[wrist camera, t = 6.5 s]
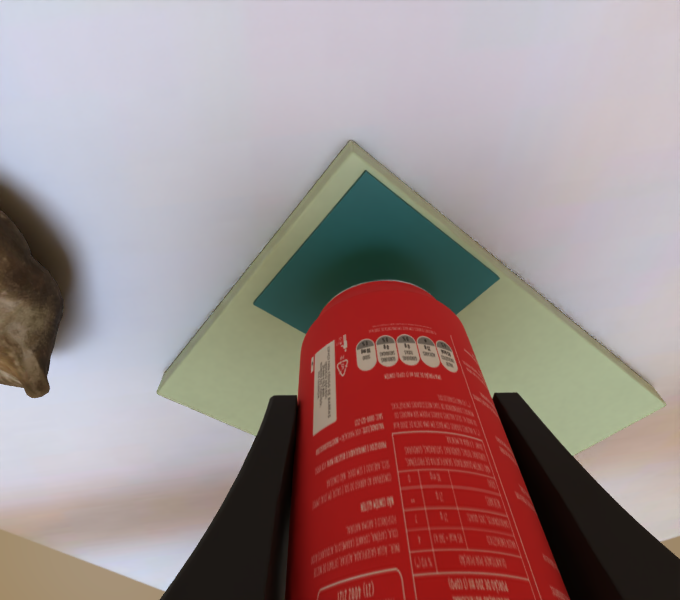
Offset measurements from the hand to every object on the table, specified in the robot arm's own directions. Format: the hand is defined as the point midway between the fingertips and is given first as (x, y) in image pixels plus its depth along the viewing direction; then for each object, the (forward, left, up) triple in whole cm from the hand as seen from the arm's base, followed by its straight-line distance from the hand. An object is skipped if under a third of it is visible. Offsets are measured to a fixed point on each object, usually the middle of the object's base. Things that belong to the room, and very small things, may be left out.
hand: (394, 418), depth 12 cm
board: (-3, -6, -7) cm, 10 cm away
